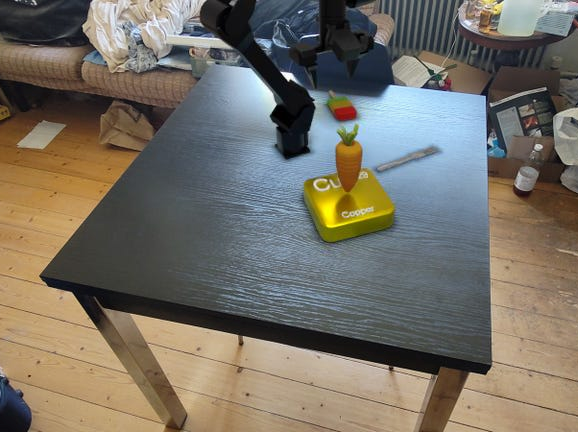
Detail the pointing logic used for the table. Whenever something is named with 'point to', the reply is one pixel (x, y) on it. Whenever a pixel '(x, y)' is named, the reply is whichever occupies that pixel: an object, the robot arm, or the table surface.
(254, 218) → the table surface
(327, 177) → the element tile
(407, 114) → the table surface
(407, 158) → the thin grey rod
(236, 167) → the table surface
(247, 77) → the table surface
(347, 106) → the popsicle
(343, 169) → the carrot
